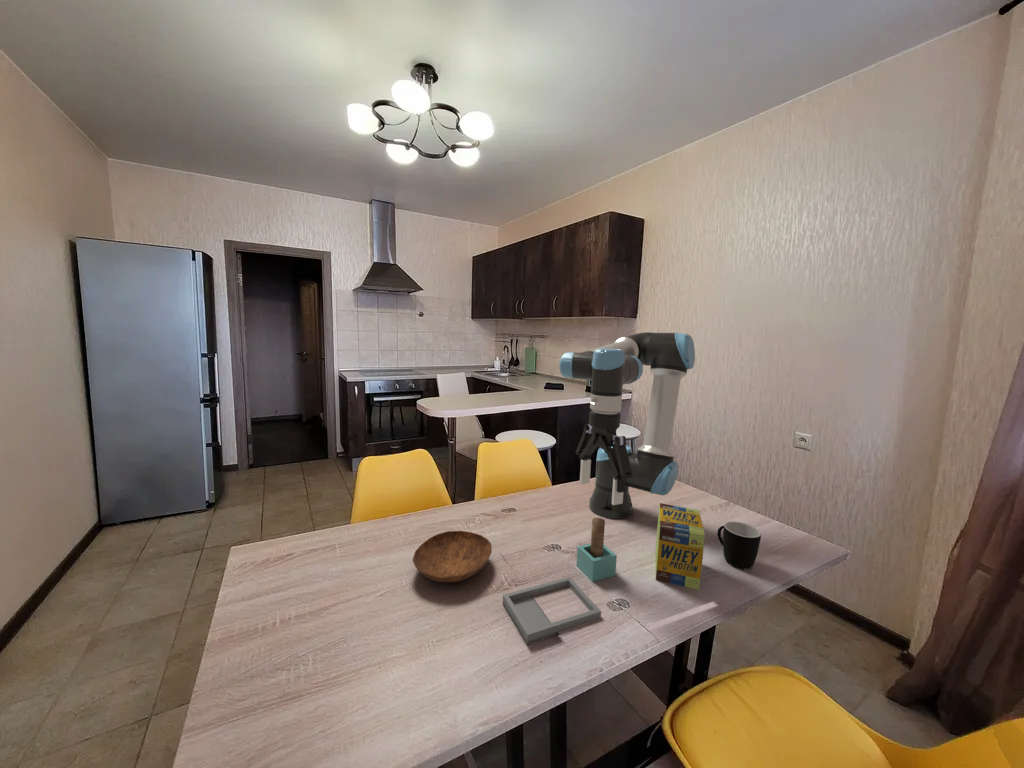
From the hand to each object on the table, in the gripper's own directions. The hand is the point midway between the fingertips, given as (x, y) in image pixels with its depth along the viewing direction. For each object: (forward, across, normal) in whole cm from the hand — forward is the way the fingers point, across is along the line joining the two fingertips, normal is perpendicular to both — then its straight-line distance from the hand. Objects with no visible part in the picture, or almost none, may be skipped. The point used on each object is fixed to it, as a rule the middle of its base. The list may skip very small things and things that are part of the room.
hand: (599, 492), depth 100 cm
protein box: (+23, +7, +21) cm, 32 cm away
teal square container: (+23, 0, 0) cm, 23 cm away
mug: (+22, +9, +41) cm, 48 cm away
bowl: (+23, -16, -34) cm, 44 cm away
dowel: (+22, 0, 0) cm, 22 cm away
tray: (+23, +8, -18) cm, 30 cm away
